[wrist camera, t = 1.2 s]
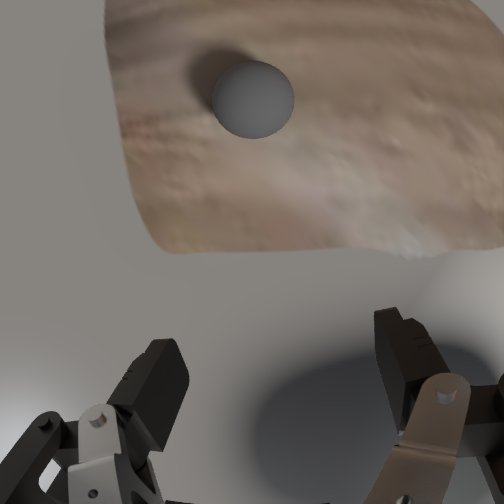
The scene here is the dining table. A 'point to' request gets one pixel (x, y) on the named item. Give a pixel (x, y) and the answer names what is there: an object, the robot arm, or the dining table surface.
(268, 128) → the gray ball
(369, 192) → the dining table surface
